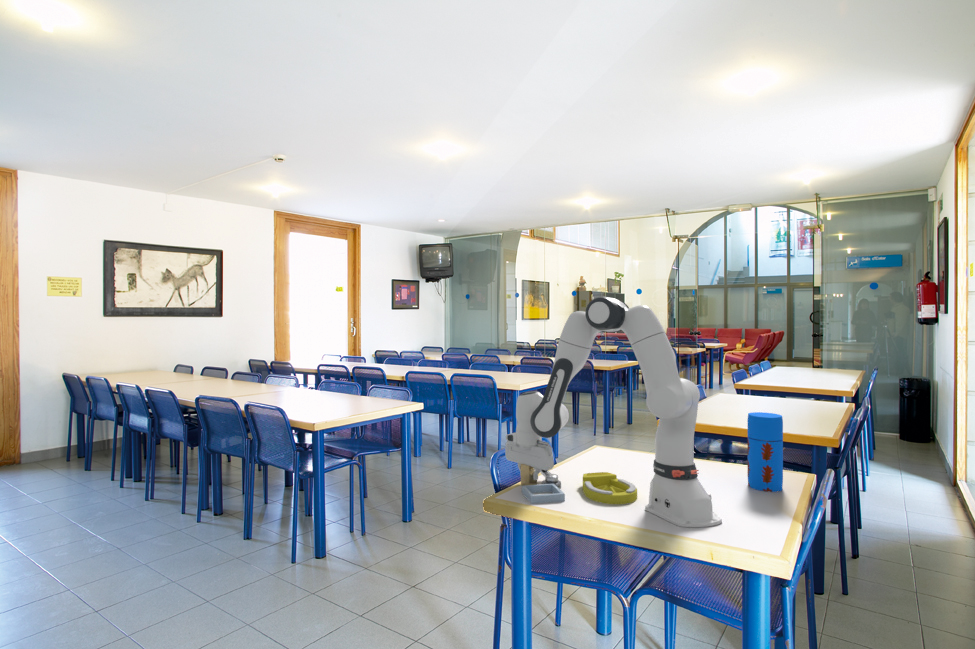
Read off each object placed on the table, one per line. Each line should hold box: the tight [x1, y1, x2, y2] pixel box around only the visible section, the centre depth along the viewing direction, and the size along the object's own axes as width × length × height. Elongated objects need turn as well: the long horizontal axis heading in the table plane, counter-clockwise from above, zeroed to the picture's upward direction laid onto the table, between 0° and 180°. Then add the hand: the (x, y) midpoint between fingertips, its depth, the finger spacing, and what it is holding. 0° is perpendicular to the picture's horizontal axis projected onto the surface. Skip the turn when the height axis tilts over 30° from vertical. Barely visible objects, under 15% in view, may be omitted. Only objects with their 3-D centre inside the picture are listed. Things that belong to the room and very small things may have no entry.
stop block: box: [520, 464, 538, 486], centre depth 185 cm, size 4×4×8 cm
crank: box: [539, 470, 559, 483], centre depth 186 cm, size 11×4×6 cm, turn 12°
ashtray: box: [582, 471, 638, 505], centre depth 176 cm, size 16×21×5 cm
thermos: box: [747, 411, 784, 493], centre depth 183 cm, size 11×11×25 cm
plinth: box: [541, 479, 562, 490], centre depth 182 cm, size 6×16×2 cm, turn 102°
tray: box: [521, 483, 566, 504], centre depth 173 cm, size 11×11×3 cm
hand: (529, 477), depth 185 cm, fingers closed on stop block, 4 cm apart
